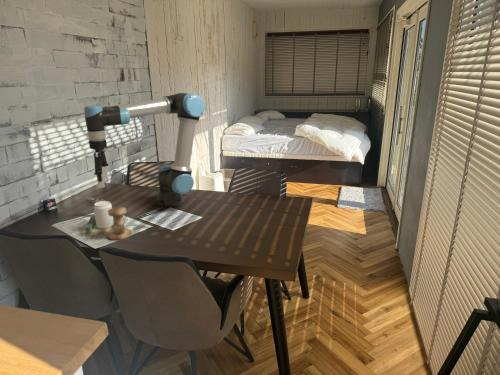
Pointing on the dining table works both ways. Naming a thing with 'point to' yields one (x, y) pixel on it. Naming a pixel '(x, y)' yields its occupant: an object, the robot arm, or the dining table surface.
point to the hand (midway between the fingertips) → (103, 183)
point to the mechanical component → (92, 201)
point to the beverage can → (103, 214)
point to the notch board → (93, 230)
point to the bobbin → (118, 224)
